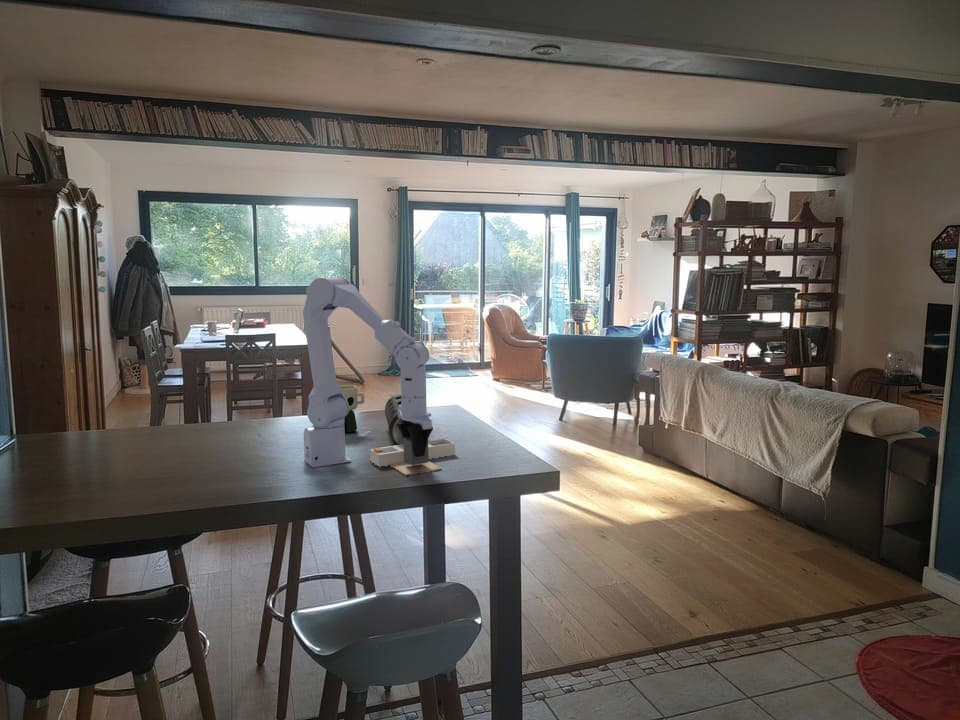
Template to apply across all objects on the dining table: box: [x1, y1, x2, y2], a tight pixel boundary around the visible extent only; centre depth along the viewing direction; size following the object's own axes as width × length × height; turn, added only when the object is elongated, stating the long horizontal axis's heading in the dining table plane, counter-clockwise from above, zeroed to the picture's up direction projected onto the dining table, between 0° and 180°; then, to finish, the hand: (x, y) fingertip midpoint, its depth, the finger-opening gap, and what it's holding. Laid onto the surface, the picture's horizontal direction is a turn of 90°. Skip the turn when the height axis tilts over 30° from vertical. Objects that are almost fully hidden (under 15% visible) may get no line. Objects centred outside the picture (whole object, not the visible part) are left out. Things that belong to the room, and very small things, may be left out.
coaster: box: [389, 460, 443, 477], centre depth 158 cm, size 9×9×1 cm
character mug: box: [339, 384, 365, 433], centre depth 194 cm, size 11×7×13 cm, turn 101°
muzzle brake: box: [384, 394, 404, 445], centre depth 185 cm, size 10×28×10 cm, turn 11°
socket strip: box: [369, 437, 456, 468], centre depth 166 cm, size 20×6×4 cm, turn 120°
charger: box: [404, 437, 429, 465], centre depth 158 cm, size 4×4×6 cm
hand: (415, 453), depth 158 cm, fingers closed on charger, 4 cm apart
